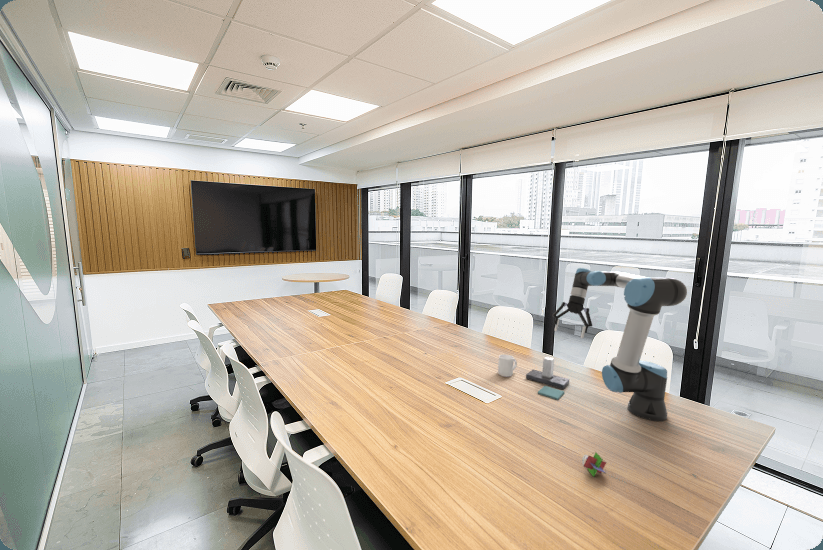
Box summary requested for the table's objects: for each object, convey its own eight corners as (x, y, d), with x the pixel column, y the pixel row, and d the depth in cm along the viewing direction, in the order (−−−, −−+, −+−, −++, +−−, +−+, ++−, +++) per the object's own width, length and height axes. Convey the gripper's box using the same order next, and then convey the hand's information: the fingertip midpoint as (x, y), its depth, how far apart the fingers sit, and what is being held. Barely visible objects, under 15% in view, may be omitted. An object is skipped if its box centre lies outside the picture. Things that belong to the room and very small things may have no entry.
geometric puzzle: (604, 460, 122) (592, 443, 121) (616, 474, 116) (603, 456, 115) (586, 472, 123) (574, 455, 122) (597, 486, 116) (585, 468, 115)
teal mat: (564, 393, 179) (564, 391, 179) (557, 400, 171) (558, 398, 171) (544, 387, 185) (544, 385, 185) (537, 393, 178) (537, 391, 178)
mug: (511, 369, 209) (512, 352, 207) (521, 375, 201) (522, 357, 200) (494, 372, 204) (495, 355, 202) (504, 378, 196) (505, 360, 195)
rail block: (569, 383, 191) (569, 379, 191) (563, 389, 183) (563, 384, 183) (532, 373, 204) (533, 369, 203) (525, 378, 196) (526, 374, 196)
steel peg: (552, 381, 194) (554, 358, 192) (549, 383, 190) (551, 360, 189) (544, 378, 197) (546, 356, 195) (541, 381, 193) (543, 358, 192)
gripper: (599, 303, 192) (590, 340, 191) (552, 291, 198) (543, 327, 196) (604, 302, 185) (595, 341, 183) (555, 290, 191) (545, 328, 189)
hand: (568, 334), depth 190 cm, fingers open, 13 cm apart
